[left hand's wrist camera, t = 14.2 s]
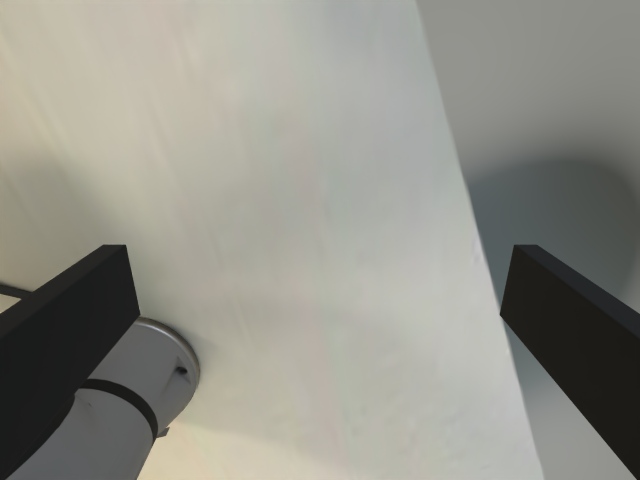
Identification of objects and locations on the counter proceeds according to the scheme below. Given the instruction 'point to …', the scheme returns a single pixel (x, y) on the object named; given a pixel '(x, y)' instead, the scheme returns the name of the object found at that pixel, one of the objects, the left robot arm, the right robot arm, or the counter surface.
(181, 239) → the counter surface
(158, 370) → the left robot arm
